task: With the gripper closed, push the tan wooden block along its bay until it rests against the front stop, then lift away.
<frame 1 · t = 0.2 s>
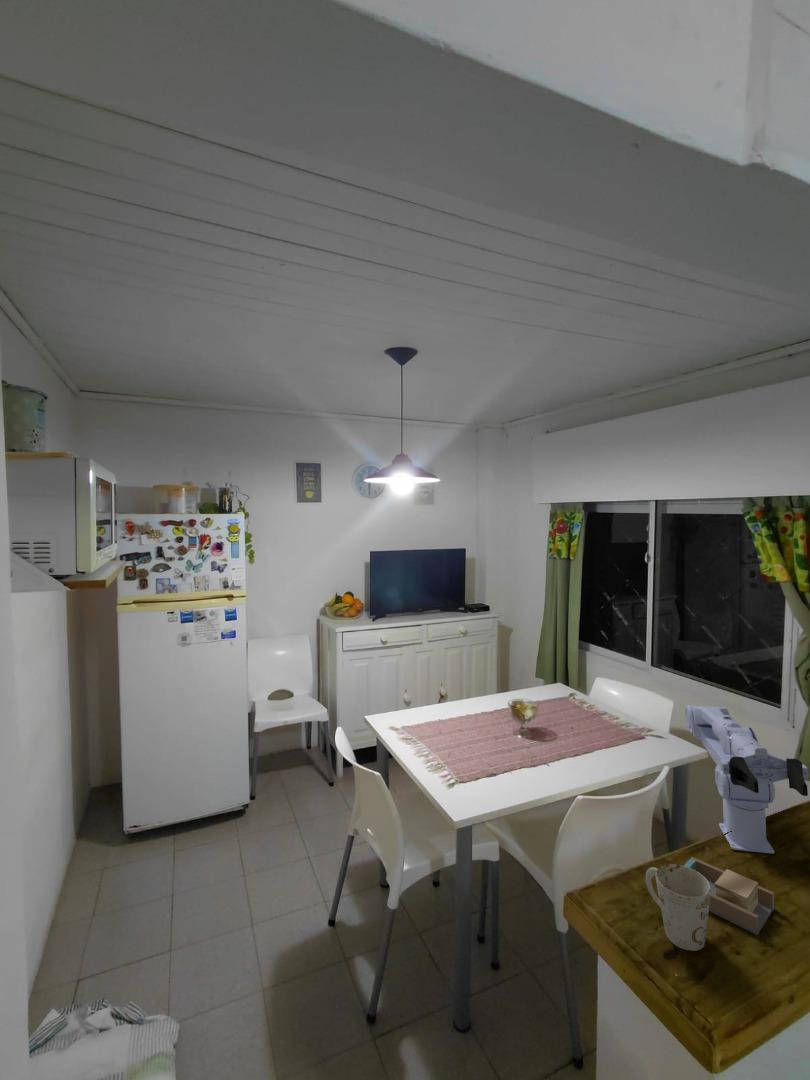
hand: (780, 788, 94), 22 cm above the counter, tool horizontal, fingers open, 7 cm apart
tan wooden block: (736, 893, 95), point 3 cm above the counter, slide at 0.0 cm
mug: (674, 929, 91), on the counter
bay: (722, 900, 97), on the counter
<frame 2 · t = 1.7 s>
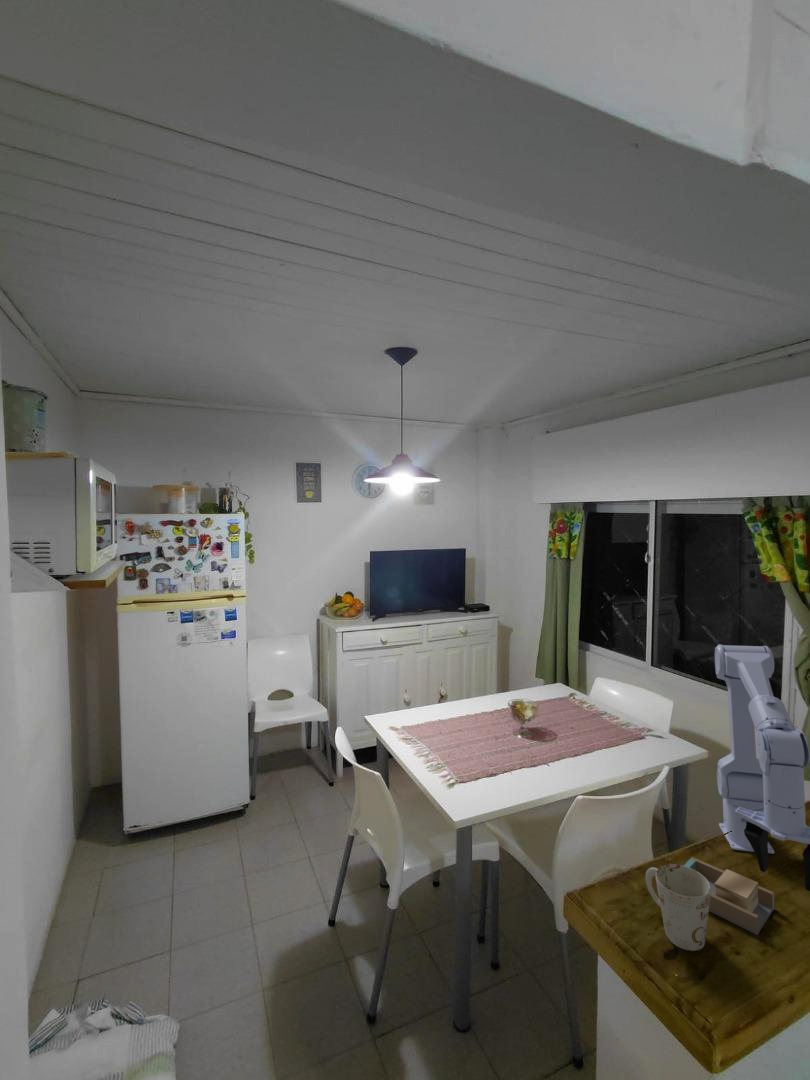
hand: (786, 878, 89), 9 cm above the counter, tool pointing down, fingers open, 6 cm apart
nothing on the counter moved.
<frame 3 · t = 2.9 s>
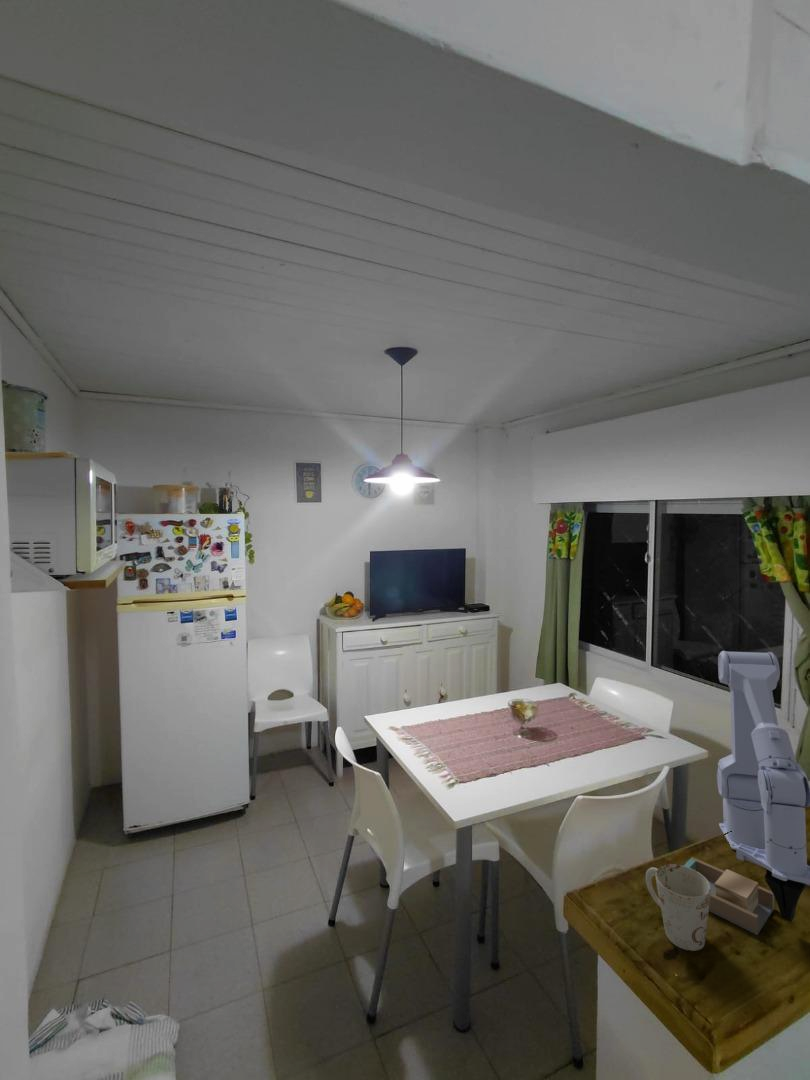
hand: (787, 917, 89), 3 cm above the counter, tool pointing down, fingers closed
nothing on the counter moved.
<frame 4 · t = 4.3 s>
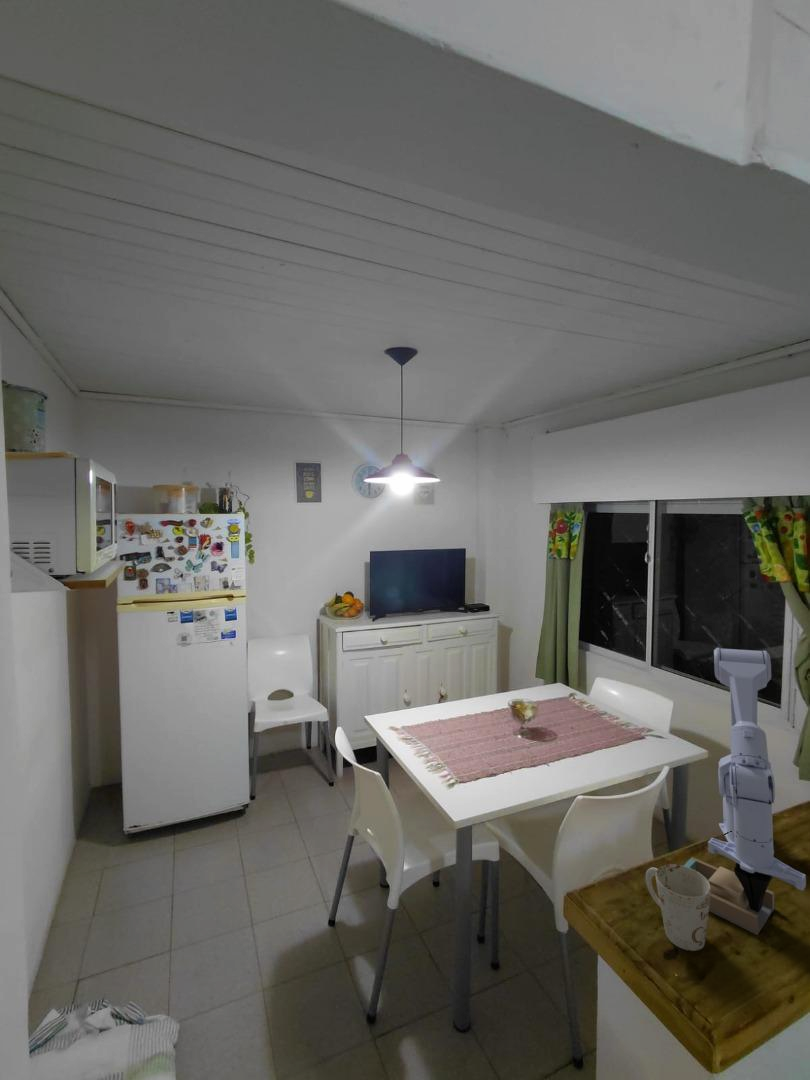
hand: (755, 907, 92), 2 cm above the counter, tool pointing down, fingers closed
tan wooden block: (730, 890, 96), point 3 cm above the counter, slide at 1.1 cm, touching gripper
everything else where it was.
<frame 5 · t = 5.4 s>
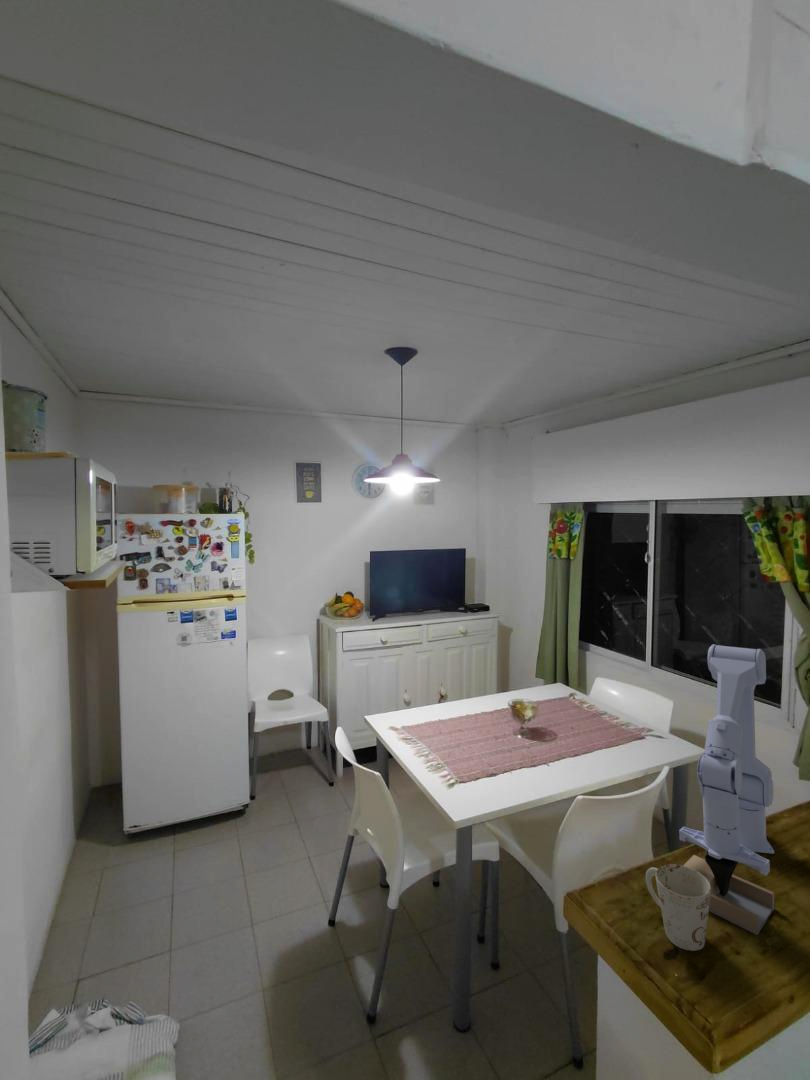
hand: (723, 893, 96), 2 cm above the counter, tool pointing down, fingers closed
tan wooden block: (702, 877, 99), point 3 cm above the counter, slide at 5.9 cm, touching gripper
everything else where it was.
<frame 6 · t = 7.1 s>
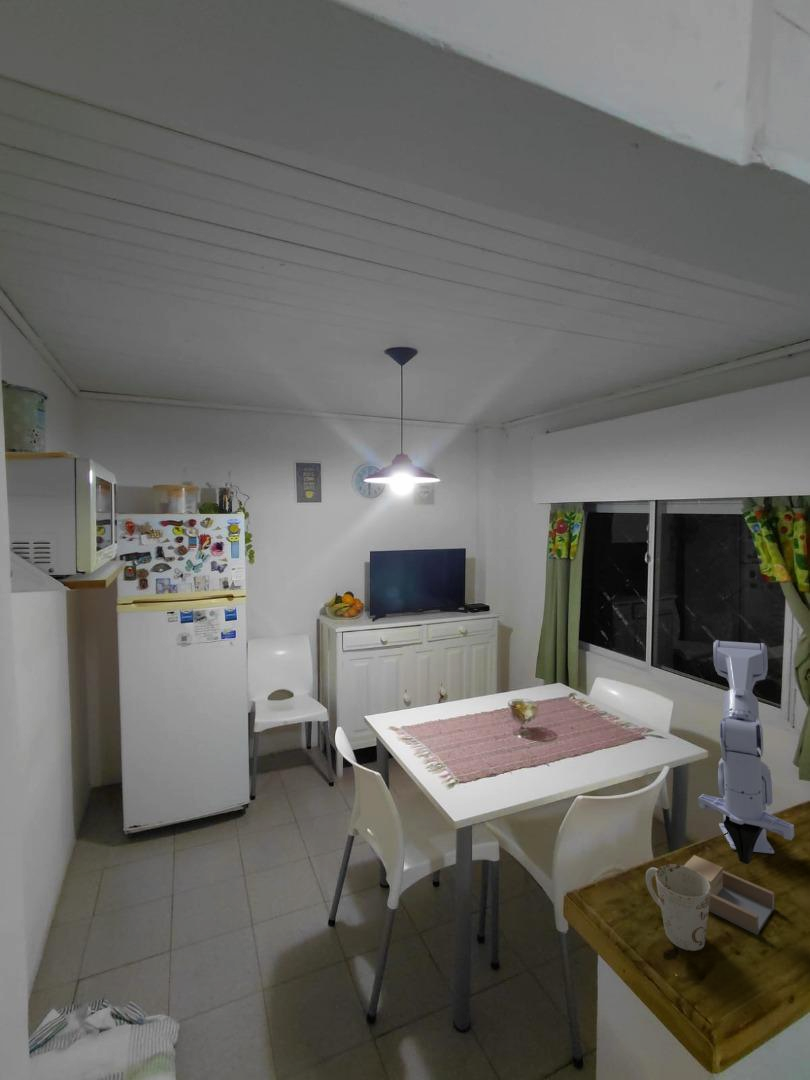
hand: (745, 860, 94), 9 cm above the counter, tool pointing down, fingers closed
tan wooden block: (702, 878, 99), point 3 cm above the counter, slide at 5.8 cm
everything else where it was.
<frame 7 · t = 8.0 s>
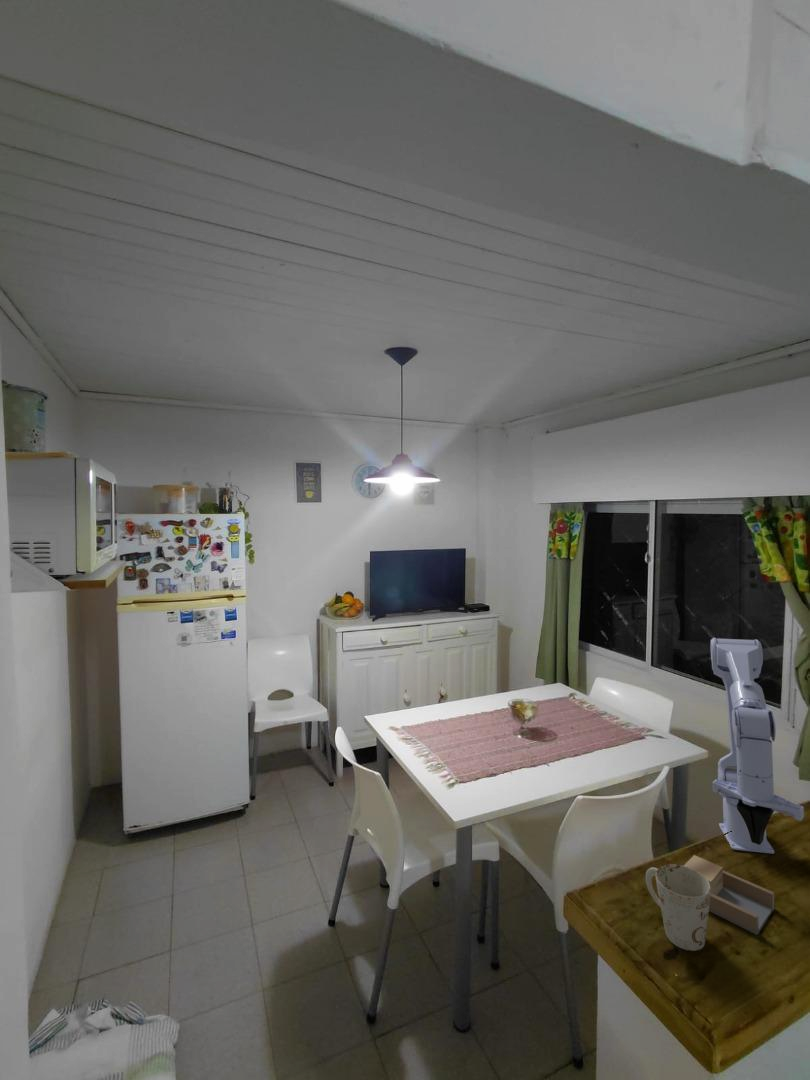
hand: (757, 841, 99), 9 cm above the counter, tool pointing down, fingers closed
nothing on the counter moved.
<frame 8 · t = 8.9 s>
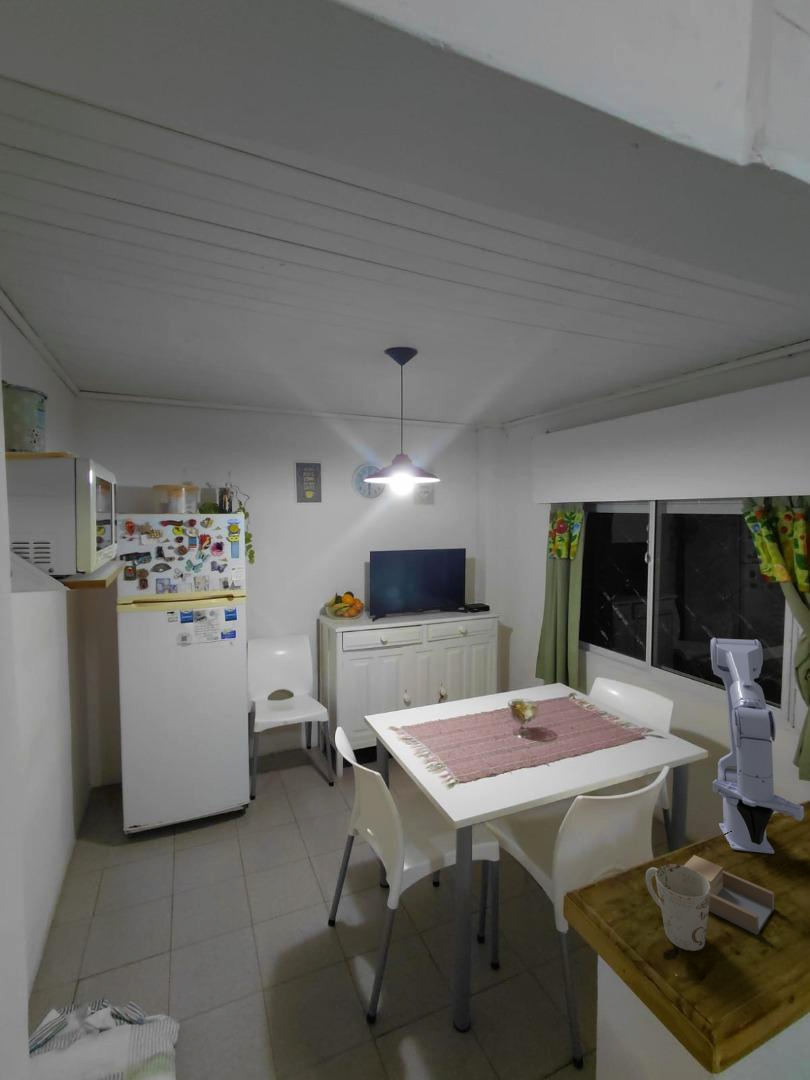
hand: (757, 841, 99), 9 cm above the counter, tool pointing down, fingers closed
nothing on the counter moved.
at the end: tan wooden block slide at 5.8 cm; mug moved 0.2 cm from its start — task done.
